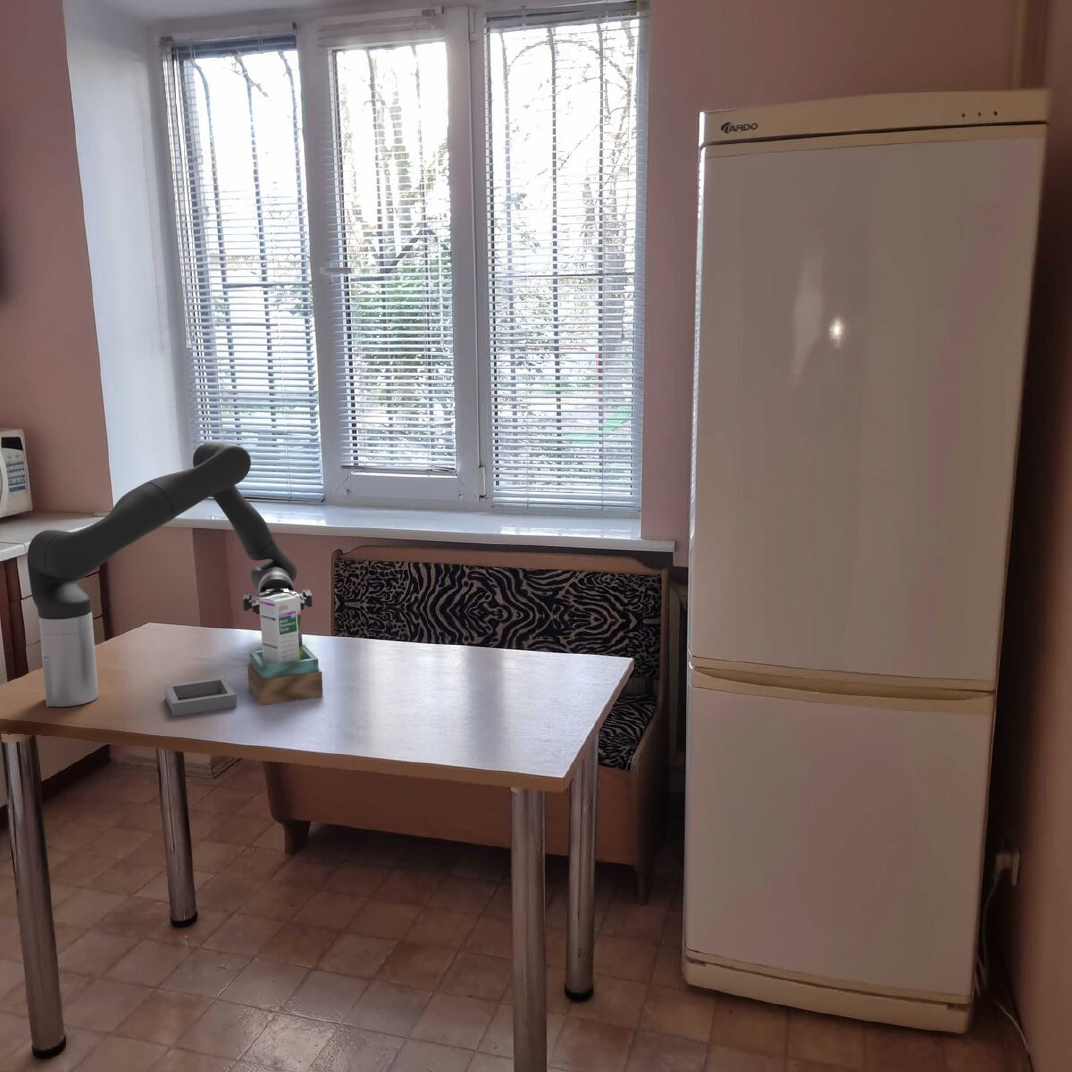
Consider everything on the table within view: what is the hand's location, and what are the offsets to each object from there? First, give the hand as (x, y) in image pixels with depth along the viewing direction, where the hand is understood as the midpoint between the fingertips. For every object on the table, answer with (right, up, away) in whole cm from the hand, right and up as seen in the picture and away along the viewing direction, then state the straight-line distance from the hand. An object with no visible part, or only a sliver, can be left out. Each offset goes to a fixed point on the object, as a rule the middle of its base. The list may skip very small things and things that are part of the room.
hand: (279, 608), depth 200 cm
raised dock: (+3, -16, -8) cm, 18 cm away
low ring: (-11, -17, -14) cm, 25 cm away
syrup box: (+3, -11, -8) cm, 14 cm away
